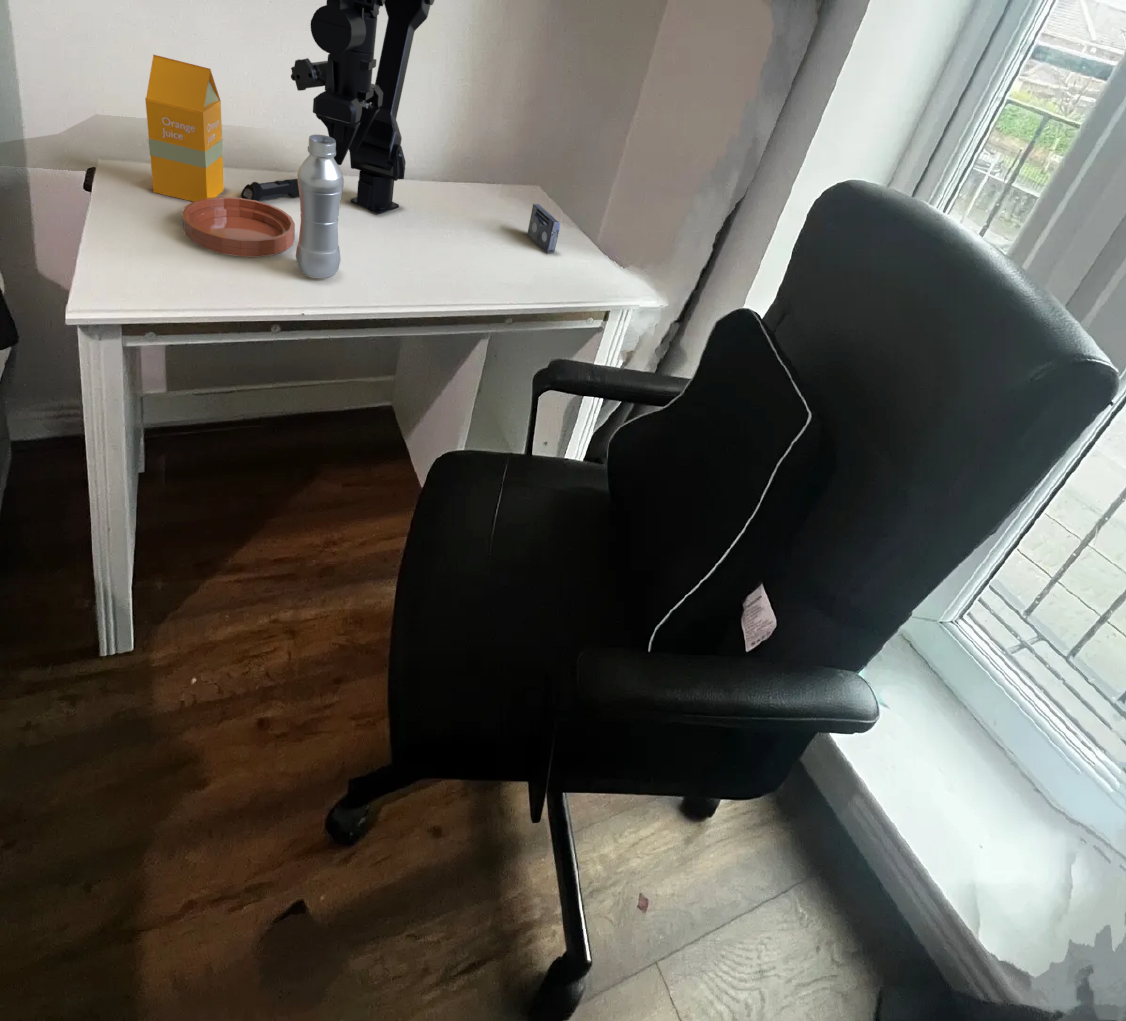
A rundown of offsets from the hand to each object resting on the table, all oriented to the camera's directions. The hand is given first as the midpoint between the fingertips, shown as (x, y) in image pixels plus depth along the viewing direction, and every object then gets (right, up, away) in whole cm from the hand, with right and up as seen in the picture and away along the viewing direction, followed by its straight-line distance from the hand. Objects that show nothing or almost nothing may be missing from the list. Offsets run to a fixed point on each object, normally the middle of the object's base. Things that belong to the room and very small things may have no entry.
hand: (345, 158), depth 129 cm
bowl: (-17, -12, 0) cm, 21 cm away
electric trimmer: (-15, 0, +16) cm, 22 cm away
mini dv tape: (+30, -5, +26) cm, 40 cm away
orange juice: (-29, -2, +9) cm, 30 cm away
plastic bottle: (-3, -19, -4) cm, 20 cm away
